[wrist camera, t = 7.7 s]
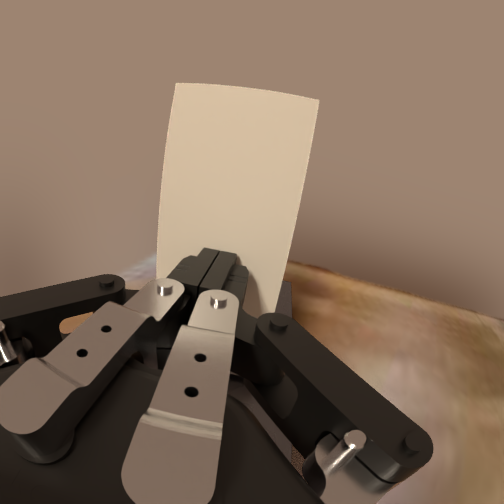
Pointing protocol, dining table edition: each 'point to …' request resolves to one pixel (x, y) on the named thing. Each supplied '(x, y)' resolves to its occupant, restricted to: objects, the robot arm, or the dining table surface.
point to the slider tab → (235, 181)
